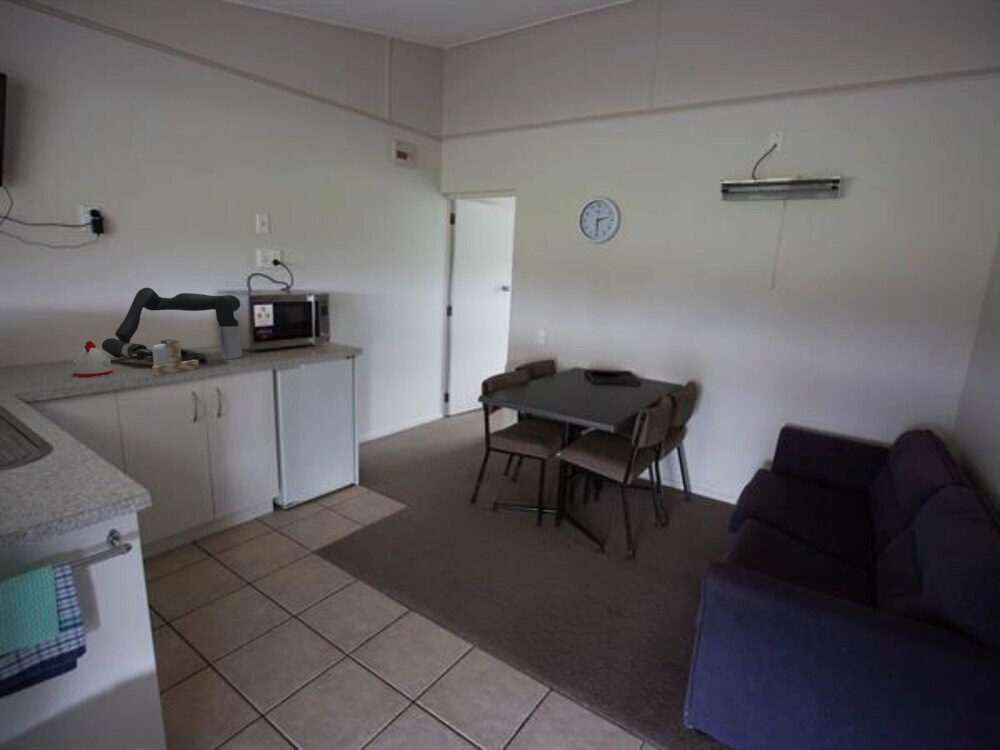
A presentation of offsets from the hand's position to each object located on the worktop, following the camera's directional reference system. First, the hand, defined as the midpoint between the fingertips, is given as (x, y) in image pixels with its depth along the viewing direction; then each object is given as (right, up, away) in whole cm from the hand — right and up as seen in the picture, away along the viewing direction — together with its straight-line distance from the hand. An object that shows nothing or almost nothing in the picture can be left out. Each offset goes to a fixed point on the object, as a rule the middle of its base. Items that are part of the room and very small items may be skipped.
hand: (157, 354), depth 248 cm
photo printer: (+4, -7, 0) cm, 8 cm away
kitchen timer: (-20, -9, -13) cm, 26 cm away
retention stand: (+9, -8, -3) cm, 12 cm away
